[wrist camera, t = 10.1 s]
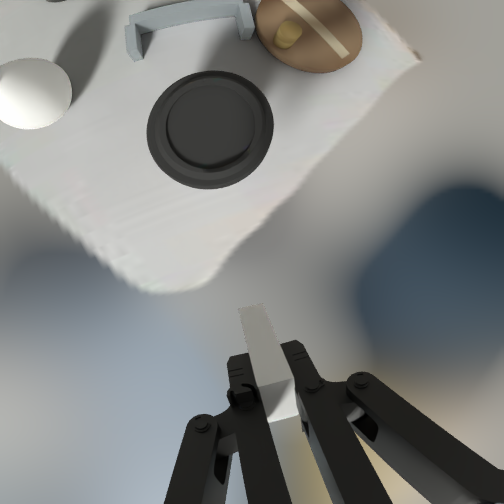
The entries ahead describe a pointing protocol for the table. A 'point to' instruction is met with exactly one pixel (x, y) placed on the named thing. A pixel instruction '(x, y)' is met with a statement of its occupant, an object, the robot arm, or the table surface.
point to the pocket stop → (185, 19)
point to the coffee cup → (210, 129)
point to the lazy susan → (309, 33)
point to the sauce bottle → (33, 93)
